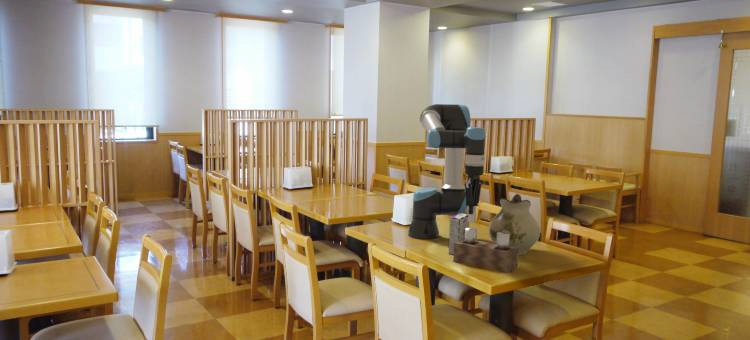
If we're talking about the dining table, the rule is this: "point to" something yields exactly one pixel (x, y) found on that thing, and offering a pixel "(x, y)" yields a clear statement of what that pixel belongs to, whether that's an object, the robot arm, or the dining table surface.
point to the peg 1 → (470, 235)
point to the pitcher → (516, 224)
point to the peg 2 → (502, 241)
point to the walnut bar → (486, 256)
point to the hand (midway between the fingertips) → (471, 221)
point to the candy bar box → (457, 230)
